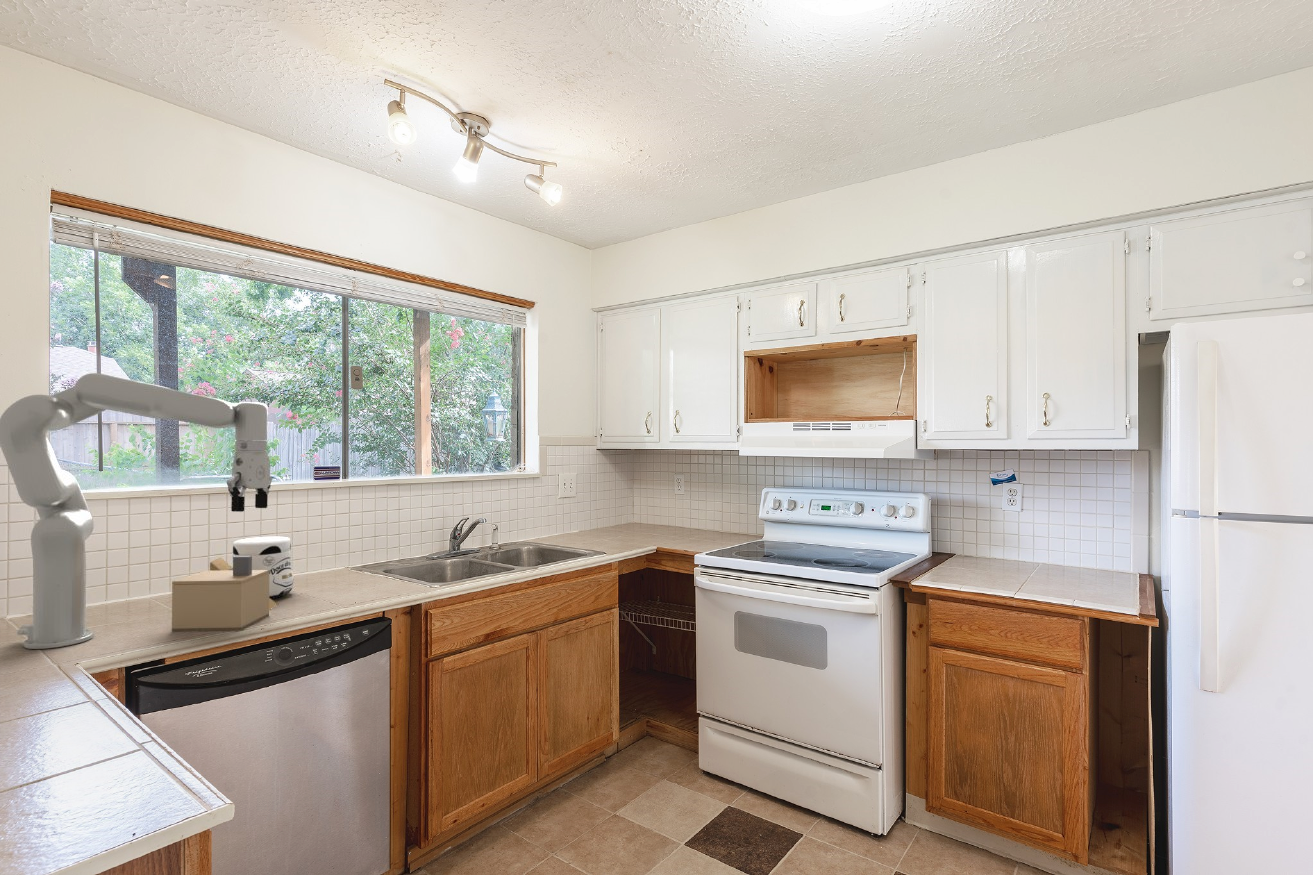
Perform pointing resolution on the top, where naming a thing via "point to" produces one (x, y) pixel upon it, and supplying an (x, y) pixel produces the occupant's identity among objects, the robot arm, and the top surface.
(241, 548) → the milk container
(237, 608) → the carton
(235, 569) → the carton lid
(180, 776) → the top surface
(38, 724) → the top surface
